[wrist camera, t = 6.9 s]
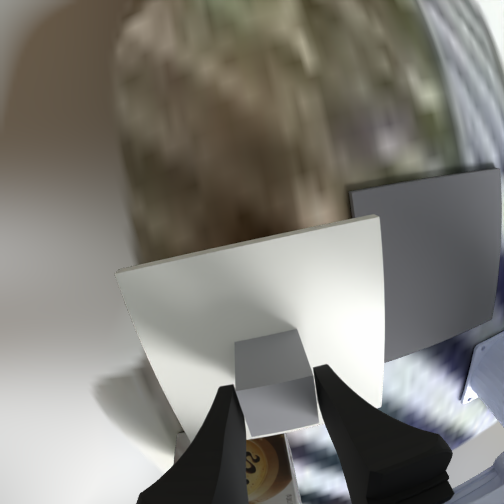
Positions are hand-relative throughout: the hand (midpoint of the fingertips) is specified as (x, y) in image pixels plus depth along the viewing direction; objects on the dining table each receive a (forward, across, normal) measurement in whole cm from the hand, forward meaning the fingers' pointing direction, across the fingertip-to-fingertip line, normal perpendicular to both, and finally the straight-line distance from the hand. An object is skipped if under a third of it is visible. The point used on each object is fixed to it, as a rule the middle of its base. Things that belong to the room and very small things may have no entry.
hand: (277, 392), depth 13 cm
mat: (+7, -13, 0) cm, 15 cm away
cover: (+3, 0, 0) cm, 3 cm away
